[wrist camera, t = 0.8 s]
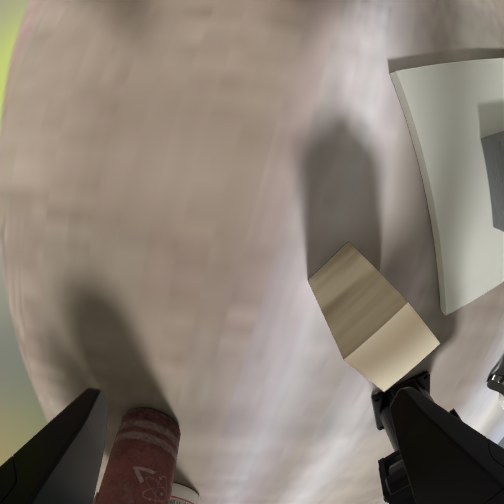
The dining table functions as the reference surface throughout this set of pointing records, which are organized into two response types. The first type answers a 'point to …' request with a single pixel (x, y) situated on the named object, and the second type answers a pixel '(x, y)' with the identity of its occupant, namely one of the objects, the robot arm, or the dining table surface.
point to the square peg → (370, 319)
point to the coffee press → (497, 386)
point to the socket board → (457, 169)
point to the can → (141, 460)
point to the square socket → (495, 175)
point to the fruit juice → (183, 495)
